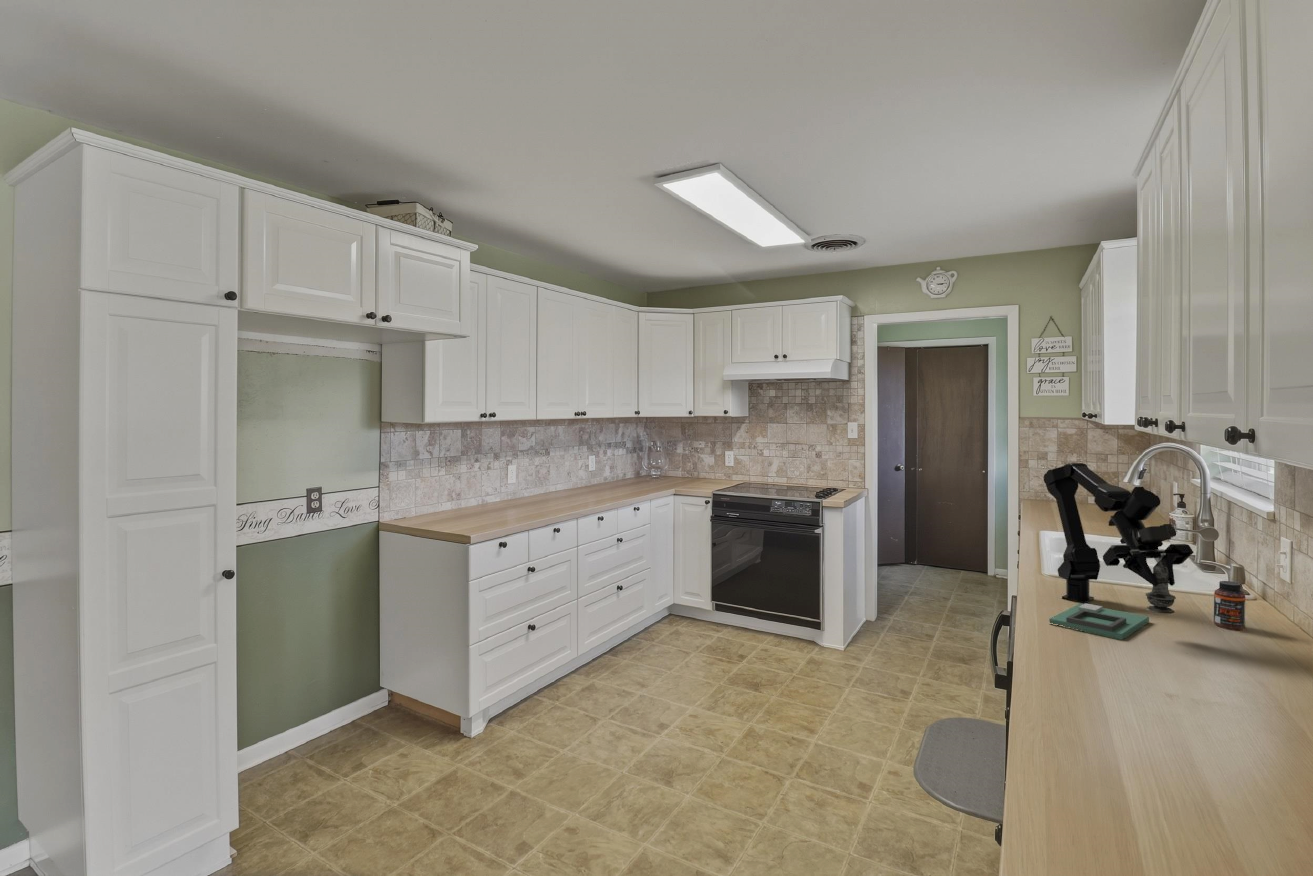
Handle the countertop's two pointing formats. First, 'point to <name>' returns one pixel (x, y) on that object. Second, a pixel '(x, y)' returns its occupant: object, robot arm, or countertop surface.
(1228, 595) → the supplement bottle
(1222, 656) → the countertop surface
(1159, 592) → the weathered stone pawn
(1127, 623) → the socket board
